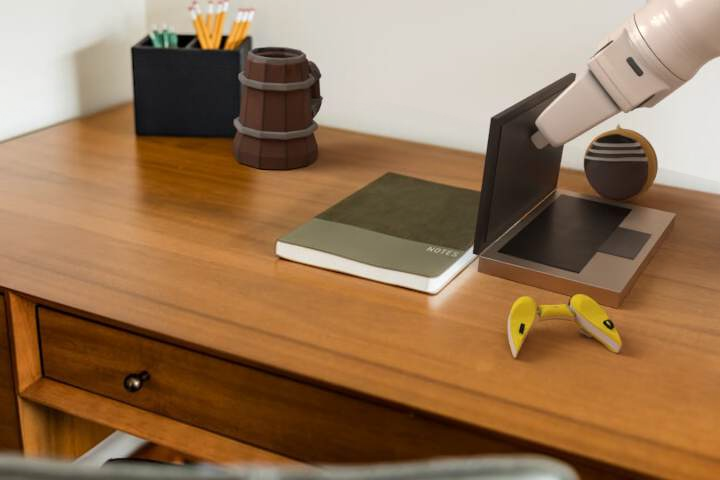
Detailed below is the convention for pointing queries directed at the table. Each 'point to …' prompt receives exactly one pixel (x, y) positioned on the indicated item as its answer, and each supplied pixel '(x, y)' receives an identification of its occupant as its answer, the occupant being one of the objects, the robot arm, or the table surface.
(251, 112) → the mug
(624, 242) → the laptop
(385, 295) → the table surface
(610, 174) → the striped round disc
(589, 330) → the game controller
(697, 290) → the table surface
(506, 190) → the laptop screen
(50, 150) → the table surface
